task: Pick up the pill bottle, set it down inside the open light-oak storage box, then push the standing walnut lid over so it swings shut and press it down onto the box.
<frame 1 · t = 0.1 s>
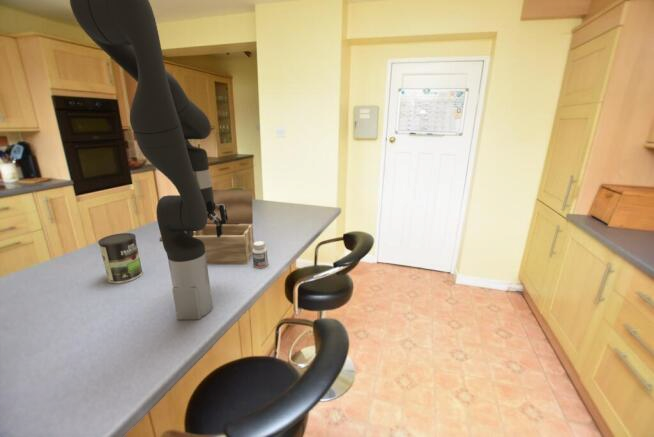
hand: (205, 236, 93), 17 cm above the countertop, tool pointing down, fingers open, 8 cm apart
coffee can: (125, 276, 105), on the countertop
plant pot: (236, 207, 189), on the countertop
pill bottle: (260, 265, 113), on the countertop
wooden box: (224, 256, 120), on the countertop
chopping board: (207, 228, 152), on the countertop
lid: (226, 206, 123), point 18 cm above the countertop, hinge at 105.0°
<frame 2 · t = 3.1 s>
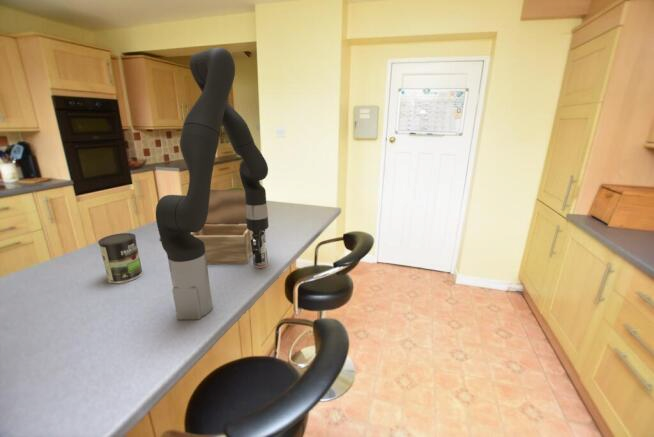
hand: (260, 258, 112), 2 cm above the countertop, tool pointing down, fingers closed on pill bottle, 5 cm apart
pill bottle: (260, 265, 113), on the countertop, touching gripper
everything else where it was.
when the fingers open (5 cm above the countertop, at t = 9.0 s): pill bottle drops 2 cm, resting on wooden box.
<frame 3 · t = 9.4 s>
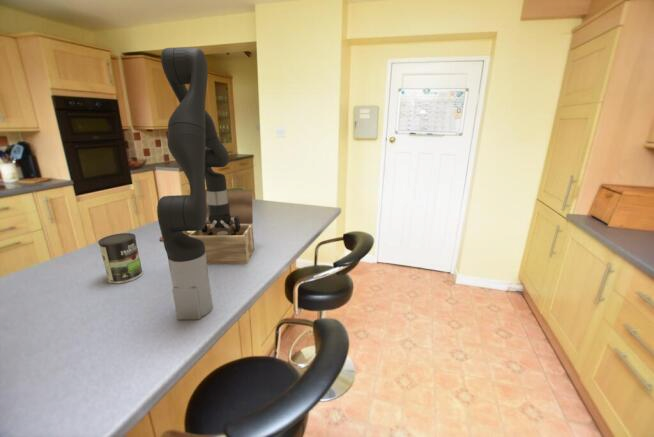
hand: (222, 241, 118), 6 cm above the countertop, tool pointing down, fingers open, 8 cm apart
pill bottle: (224, 254, 120), point 1 cm above the countertop, touching wooden box
everything else where it was.
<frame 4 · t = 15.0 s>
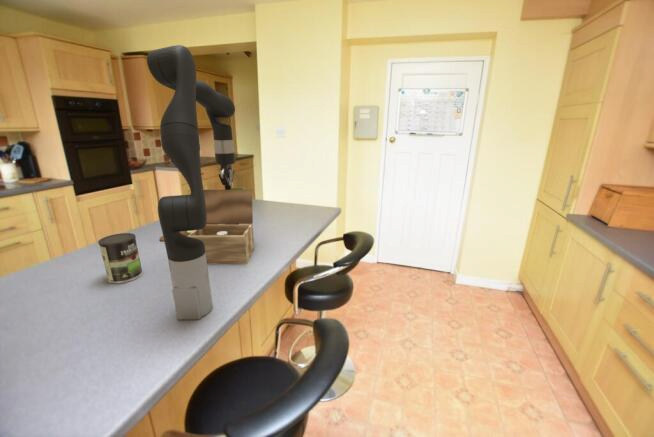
hand: (228, 194, 126), 22 cm above the countertop, tool pointing down, fingers closed
lid: (226, 206, 123), point 18 cm above the countertop, hinge at 105.0°, touching gripper
everything else where it was.
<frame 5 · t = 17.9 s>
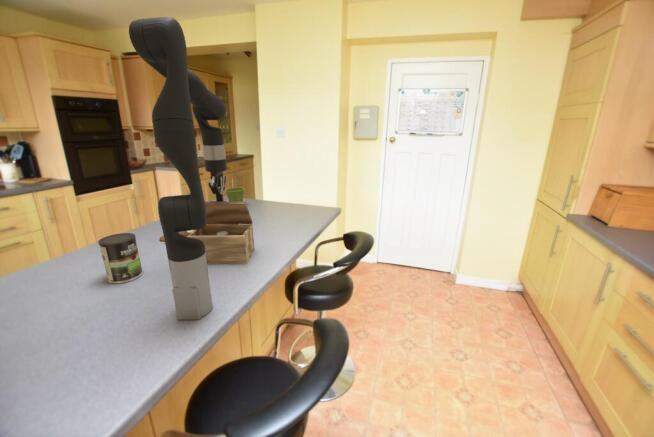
hand: (220, 203, 115), 21 cm above the countertop, tool pointing down, fingers closed
lid: (222, 212, 118), point 17 cm above the countertop, hinge at 52.3°, touching gripper
everything else where it was.
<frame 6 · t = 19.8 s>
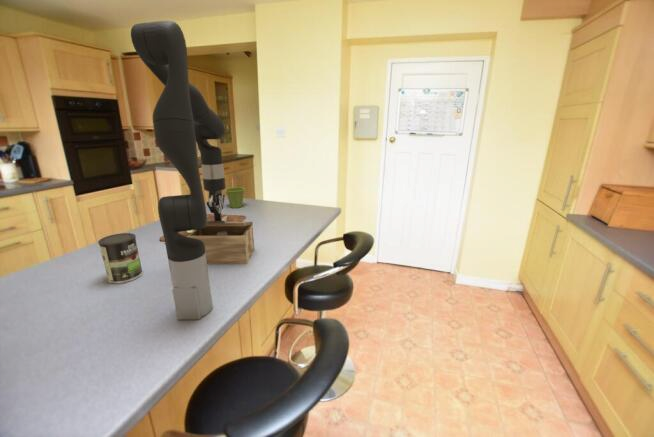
hand: (218, 222, 114), 15 cm above the countertop, tool pointing down, fingers closed
lid: (221, 222, 116), point 14 cm above the countertop, hinge at 16.2°, touching gripper
everything else where it was.
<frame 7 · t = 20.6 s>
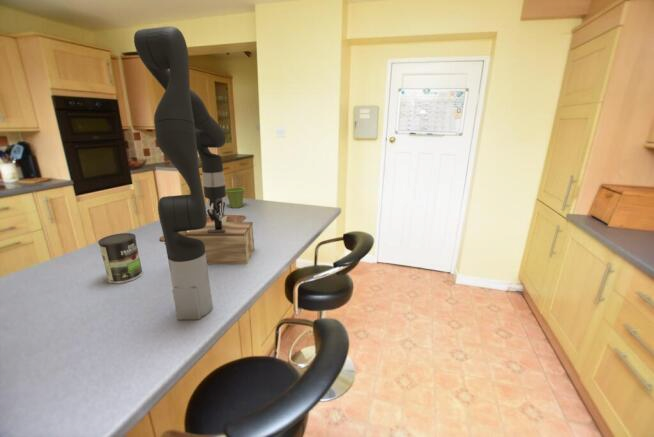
hand: (218, 229, 114), 12 cm above the countertop, tool pointing down, fingers closed
lid: (221, 227, 117), point 12 cm above the countertop, hinge at -0.2°, touching gripper
everything else where it was.
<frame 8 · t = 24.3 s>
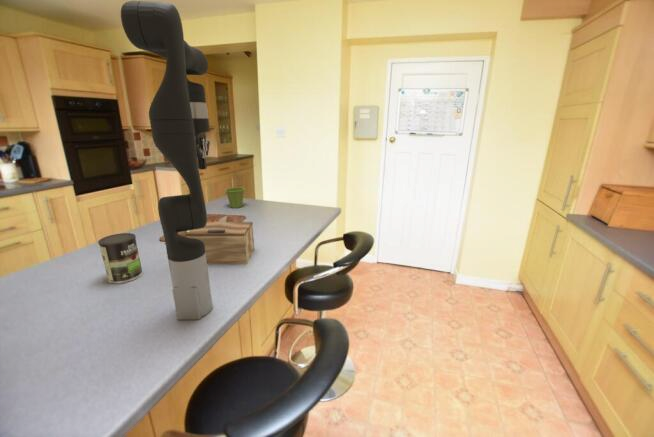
hand: (202, 169, 106), 35 cm above the countertop, tool pointing down, fingers closed
lid: (221, 227, 117), point 12 cm above the countertop, hinge at -0.2°
everything else where it was.
at the end: lid at +0° (first picture: +105°); pill bottle inside the target area on the wooden box (0.1 cm from its centre), point 0.8 cm above the wooden box's base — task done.
